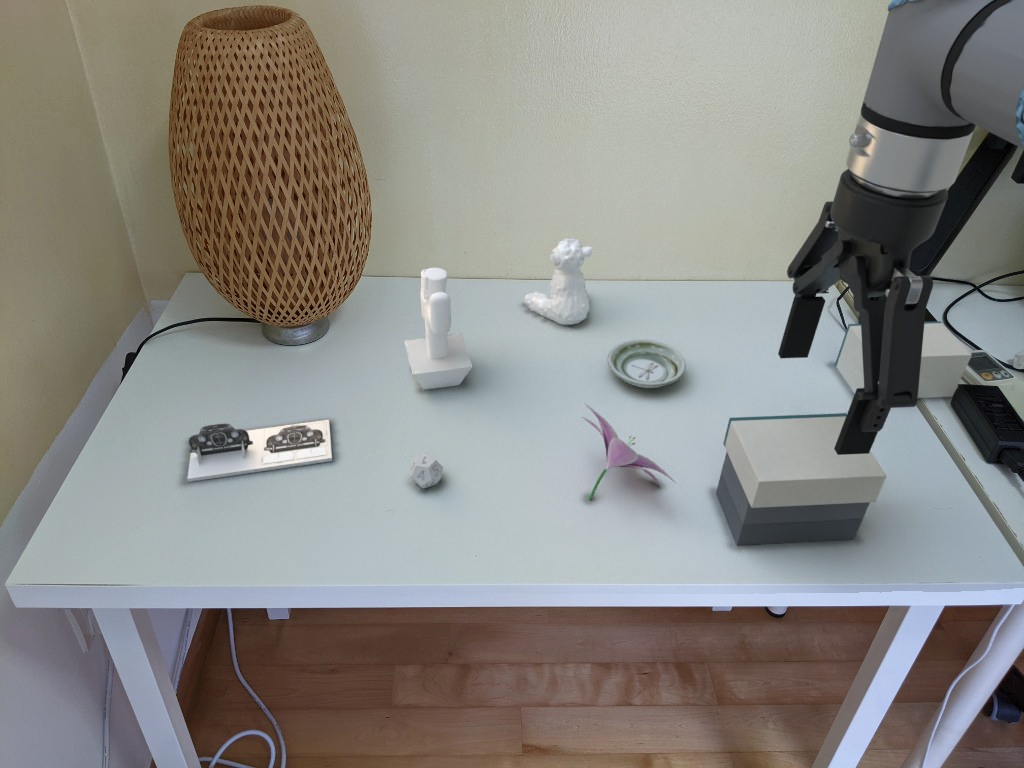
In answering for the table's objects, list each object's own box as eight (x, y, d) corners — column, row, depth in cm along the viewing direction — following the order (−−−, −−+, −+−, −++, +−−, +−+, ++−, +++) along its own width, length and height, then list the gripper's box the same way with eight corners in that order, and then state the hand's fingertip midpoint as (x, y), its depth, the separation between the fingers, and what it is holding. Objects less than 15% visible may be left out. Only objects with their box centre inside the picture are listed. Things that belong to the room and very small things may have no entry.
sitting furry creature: (582, 292, 114) (588, 217, 106) (609, 323, 107) (617, 245, 100) (522, 304, 111) (524, 228, 104) (546, 336, 105) (550, 257, 97)
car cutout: (188, 482, 82) (177, 450, 79) (193, 440, 87) (183, 410, 84) (332, 461, 85) (327, 430, 82) (329, 422, 90) (324, 391, 87)
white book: (836, 439, 80) (846, 412, 78) (875, 502, 73) (887, 475, 71) (723, 443, 79) (729, 417, 77) (751, 508, 72) (759, 481, 70)
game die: (446, 471, 84) (445, 450, 82) (437, 495, 81) (436, 475, 79) (415, 466, 84) (413, 446, 82) (405, 491, 81) (403, 470, 79)
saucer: (616, 347, 103) (618, 331, 101) (689, 362, 100) (692, 347, 99) (597, 388, 96) (598, 373, 94) (674, 406, 93) (677, 391, 92)
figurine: (460, 352, 101) (457, 249, 92) (474, 395, 94) (473, 289, 85) (404, 359, 100) (396, 255, 91) (415, 404, 93) (407, 296, 83)
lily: (671, 539, 78) (709, 455, 76) (567, 515, 74) (604, 425, 72) (627, 486, 89) (659, 411, 87) (534, 463, 85) (566, 384, 83)
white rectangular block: (923, 362, 101) (940, 321, 97) (952, 397, 95) (972, 354, 92) (834, 365, 100) (848, 323, 96) (858, 400, 95) (874, 358, 91)
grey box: (825, 487, 83) (841, 446, 79) (854, 539, 77) (872, 497, 73) (715, 492, 82) (726, 451, 78) (736, 545, 76) (749, 503, 72)
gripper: (786, 119, 67) (737, 324, 80) (932, 262, 47) (835, 503, 60) (870, 118, 67) (808, 322, 80) (1048, 259, 48) (927, 498, 61)
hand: (819, 400), depth 70 cm, fingers open, 13 cm apart
